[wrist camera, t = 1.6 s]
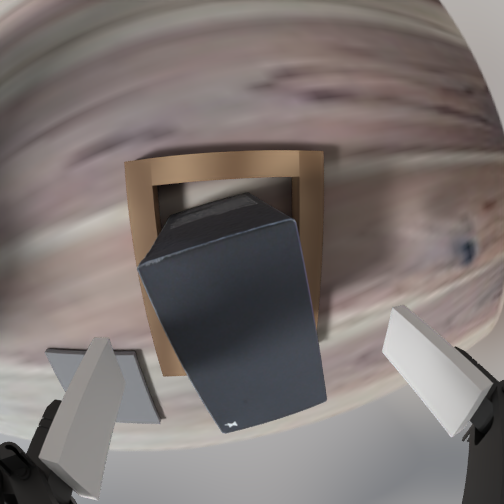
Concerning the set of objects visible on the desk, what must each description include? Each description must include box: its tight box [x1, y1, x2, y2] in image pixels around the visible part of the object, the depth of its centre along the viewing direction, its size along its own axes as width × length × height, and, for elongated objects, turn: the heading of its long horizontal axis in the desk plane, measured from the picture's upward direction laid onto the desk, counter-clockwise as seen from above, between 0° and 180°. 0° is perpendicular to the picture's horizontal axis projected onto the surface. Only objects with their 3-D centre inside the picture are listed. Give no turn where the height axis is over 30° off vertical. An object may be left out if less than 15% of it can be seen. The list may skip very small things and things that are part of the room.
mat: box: [45, 349, 161, 424], centre depth 22 cm, size 10×10×1 cm
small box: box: [137, 193, 327, 433], centre depth 16 cm, size 11×6×10 cm, turn 15°
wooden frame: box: [124, 150, 324, 376], centre depth 20 cm, size 13×17×2 cm
